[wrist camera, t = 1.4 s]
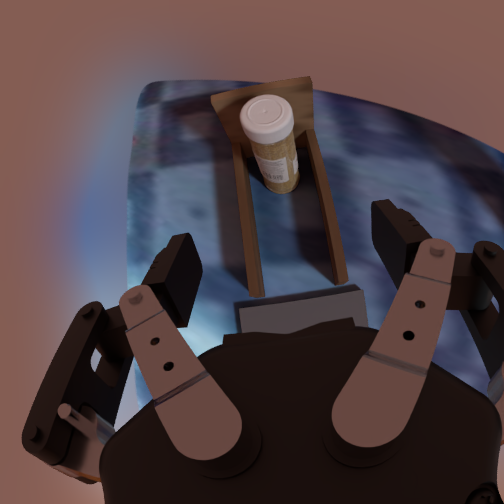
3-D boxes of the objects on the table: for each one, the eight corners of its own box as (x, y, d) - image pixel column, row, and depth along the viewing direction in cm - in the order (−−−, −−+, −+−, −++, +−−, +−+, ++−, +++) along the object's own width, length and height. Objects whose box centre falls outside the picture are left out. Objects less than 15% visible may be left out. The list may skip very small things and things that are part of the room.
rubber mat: (361, 289, 30) (363, 289, 29) (372, 390, 27) (374, 392, 27) (240, 308, 32) (238, 308, 32) (253, 406, 30) (252, 409, 29)
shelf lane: (312, 139, 35) (309, 76, 23) (343, 284, 31) (363, 269, 19) (238, 153, 37) (210, 95, 25) (256, 297, 32) (227, 290, 21)
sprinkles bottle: (306, 174, 34) (302, 104, 21) (285, 202, 34) (270, 140, 21) (277, 157, 35) (259, 86, 22) (256, 183, 35) (227, 118, 22)
